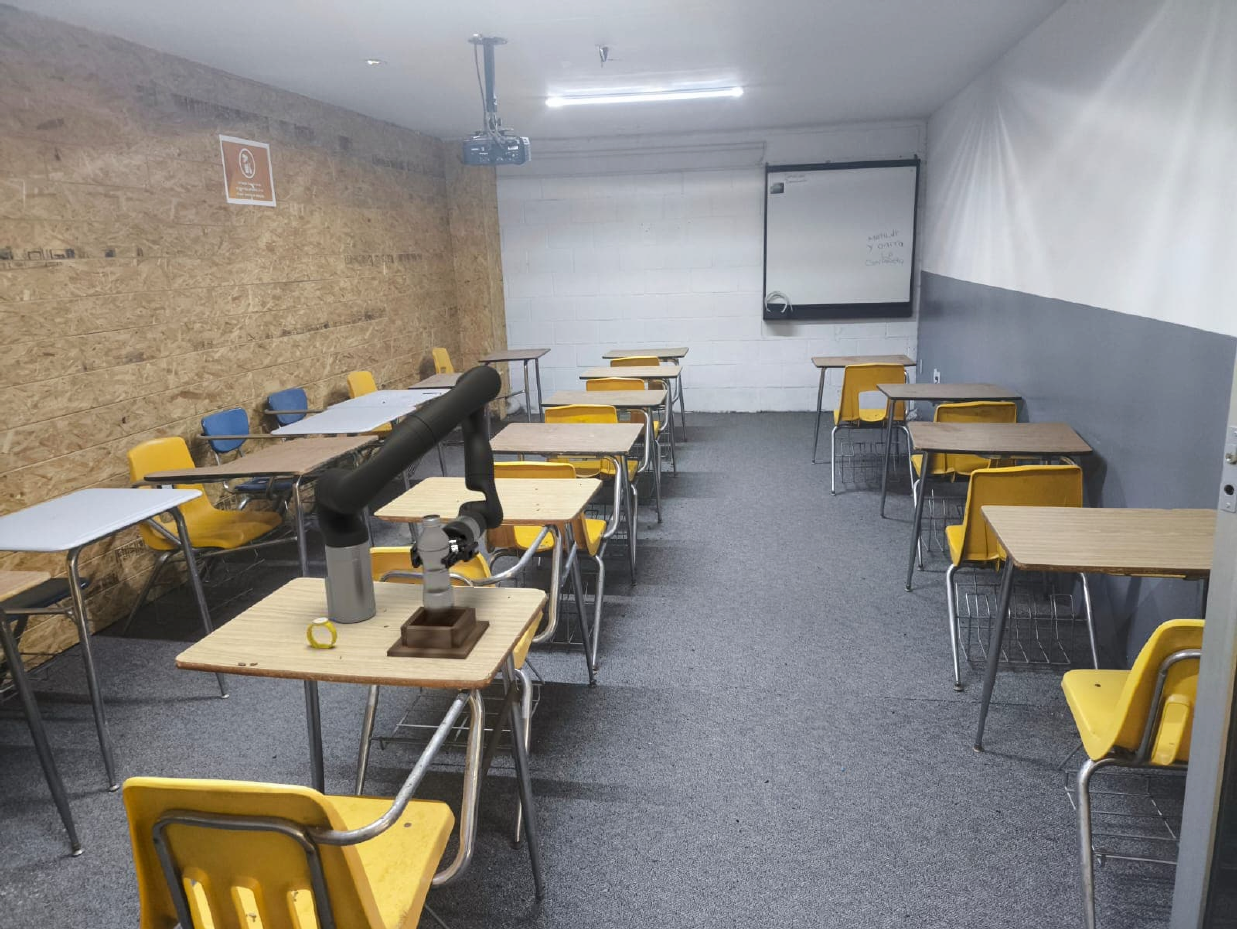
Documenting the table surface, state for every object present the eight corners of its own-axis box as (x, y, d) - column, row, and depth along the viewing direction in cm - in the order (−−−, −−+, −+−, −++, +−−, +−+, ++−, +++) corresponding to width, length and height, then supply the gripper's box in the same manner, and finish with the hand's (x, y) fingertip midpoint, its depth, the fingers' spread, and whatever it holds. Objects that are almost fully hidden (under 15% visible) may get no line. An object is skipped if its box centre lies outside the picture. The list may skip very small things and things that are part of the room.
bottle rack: (387, 656, 156) (384, 632, 154) (418, 623, 171) (416, 601, 170) (465, 659, 153) (463, 635, 152) (489, 625, 169) (488, 603, 168)
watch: (339, 646, 161) (338, 619, 160) (332, 652, 159) (331, 624, 157) (312, 642, 162) (311, 615, 161) (305, 648, 160) (303, 621, 158)
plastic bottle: (459, 604, 164) (451, 511, 160) (450, 617, 158) (441, 521, 153) (429, 604, 165) (421, 512, 160) (418, 617, 158) (409, 522, 154)
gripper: (425, 520, 173) (394, 545, 156) (488, 520, 171) (463, 546, 154) (428, 552, 174) (397, 581, 158) (491, 553, 172) (466, 582, 156)
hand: (430, 563), depth 156 cm, fingers closed on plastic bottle, 6 cm apart
